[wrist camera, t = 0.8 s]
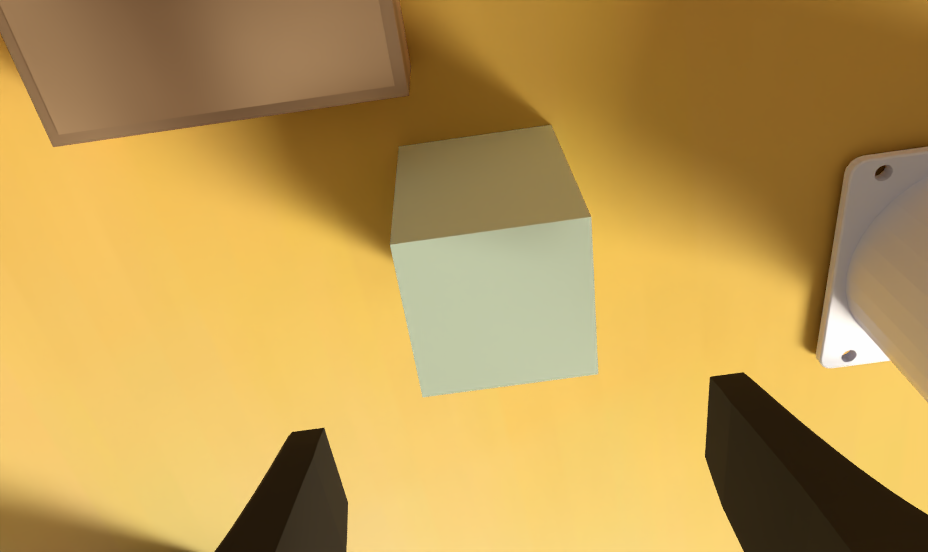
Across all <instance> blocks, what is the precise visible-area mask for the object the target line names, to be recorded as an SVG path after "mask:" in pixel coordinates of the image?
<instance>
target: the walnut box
mask: <svg viewBox="0 0 928 552" xmlns="http://www.w3.org/2000/svg"><path fill="white" fill-rule="evenodd" d="M0 33H1V35H2V37H3V39H4V42H5V44H6V46H7V48H8V50H9V52H10V55H11V57H12V59H13V61H14V63H15V65H16V68H17V70H18V72H19V74H20V76H21V79H22V81H23V83H24V85H25V87H26V89H27V92H28V94H29V96H30V98H31V100H32V102H33V105H34V107H35V109H36V111H37V113H38V115H39V118H40V120H41V122H42V124H43V126H44V128H45V131H46V133H47V135H48V137H49V139H50V141H51V144H52V146H53V147H57V146H64V145H71V144H78V143H85V142H92V141H99V140H106V139H113V138H120V137H126V136H133V135H140V134H147V133H154V132H161V131H168V130H175V129H182V128H189V127H195V126H202V125H209V124H216V123H223V122H230V121H237V120H244V119H251V118H258V117H264V116H271V115H278V114H285V113H292V112H299V111H306V110H313V109H320V108H327V107H334V106H340V105H347V104H354V103H361V102H368V101H375V100H382V99H389V98H396V97H403V96H409V86H410V73H411V64H410V58H409V52H408V47H407V41H406V35H405V29H404V23H403V17H402V12H401V6H400V0H0Z"/></svg>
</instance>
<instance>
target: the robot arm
mask: <svg viewBox="0 0 928 552" xmlns="http://www.w3.org/2000/svg"><path fill="white" fill-rule="evenodd" d="M883 165H885V166H886V167H885V169H884V171H883V172H882V173H881V174H879V175H876V176H875V173H876V170H877V169H878V168H880V167H881V166H883ZM849 350H850V351H849ZM846 351H849V352H848V353H847V354H844V353H845V352H846ZM843 354H844V355H843ZM816 358H817V360H818V361H819V362H820V364H821V365H822V366H823V367H826V368H837V367H845V366H852V365H860V364H868V363H875V362H883V361H890V360H891V362H892V363H893V364H894V365H895V366H896V367H897V368H898V369H899V371H900V372H901V373H902V374H903V375H904V376H905V377H906V378H907V380H908V381H909V382H910V383H911V384H912V385H913V386H914V387H915V389H916V390H917V391H918V392H919V393H920V394H921V395H922V396H923V398H924V399H925V400H926V401H927V402H928V147H921V148H914V149H906V150H899V151H892V152H885V153H878V154H871V155H864V156H860V157H857V158H856V159H854V160H853V161H851V162H850V164H849V165H848V166H847V167H846V170H845V173H844V179H843V185H842V192H841V198H840V204H839V211H838V217H837V223H836V229H835V236H834V242H833V248H832V255H831V261H830V267H829V274H828V280H827V286H826V293H825V299H824V305H823V311H822V318H821V324H820V330H819V337H818V343H817V349H816ZM705 458H706V461H707V464H708V467H709V470H710V473H711V476H712V479H713V482H714V485H715V487H716V490H717V493H718V496H719V499H720V501H721V504H722V507H723V509H724V511H725V513H726V515H727V518H728V520H729V522H730V524H731V526H732V528H733V530H734V532H735V534H736V536H737V538H738V540H739V542H740V544H741V547H742V549H743V551H744V552H928V515H927V514H926V513H924V512H923V511H921V510H919V509H918V508H916V507H915V506H913V505H911V504H910V503H908V502H907V501H905V500H904V499H902V498H901V497H899V496H898V495H896V494H895V493H893V492H892V491H890V490H889V489H887V488H886V487H885V486H883V485H882V484H880V483H879V482H878V481H876V480H875V479H873V478H872V477H871V476H869V475H868V474H867V473H865V472H864V471H862V470H861V469H860V468H858V467H857V466H856V465H854V464H853V463H852V462H850V461H849V460H848V459H847V458H845V457H844V456H843V455H841V454H840V453H839V452H838V451H836V450H835V449H834V448H833V447H831V446H830V445H829V444H828V443H826V442H825V441H824V440H823V439H821V438H820V437H819V436H818V435H816V434H815V433H814V432H813V431H811V430H810V429H809V428H808V427H807V426H805V425H804V424H803V423H802V422H801V421H799V420H798V419H797V418H796V417H795V416H794V415H792V414H791V413H790V412H789V411H788V410H786V409H785V408H784V407H783V406H782V405H781V404H780V403H778V402H777V401H776V400H775V399H774V398H773V397H771V396H770V395H769V394H768V393H767V392H766V391H765V390H763V389H762V388H761V387H760V386H759V385H758V384H757V383H755V382H754V381H753V380H752V379H751V378H750V377H748V376H747V375H746V374H745V373H735V374H728V375H720V376H713V377H710V385H709V401H708V417H707V433H706V449H705ZM347 518H348V501H347V498H346V495H345V492H344V489H343V486H342V482H341V479H340V476H339V473H338V470H337V467H336V464H335V461H334V457H333V454H332V451H331V448H330V445H329V442H328V439H327V436H326V432H325V429H324V428H319V429H312V430H304V431H297V432H292V433H291V434H290V435H289V436H288V438H287V439H286V441H285V443H284V445H283V446H282V448H281V450H280V451H279V453H278V455H277V456H276V458H275V460H274V461H273V463H272V465H271V467H270V468H269V470H268V472H267V473H266V475H265V476H264V478H263V480H262V481H261V483H260V485H259V486H258V488H257V489H256V491H255V493H254V494H253V496H252V497H251V499H250V500H249V502H248V503H247V505H246V506H245V508H244V510H243V511H242V513H241V514H240V516H239V517H238V519H237V520H236V522H235V523H234V525H233V526H232V528H231V529H230V531H229V532H228V534H227V535H226V536H225V538H224V539H223V541H222V542H221V543H220V545H219V546H218V548H217V549H216V550H215V552H346V546H347Z"/></svg>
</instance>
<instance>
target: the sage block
mask: <svg viewBox="0 0 928 552" xmlns="http://www.w3.org/2000/svg"><path fill="white" fill-rule="evenodd" d="M390 248H391V252H392V257H393V262H394V266H395V271H396V275H397V280H398V285H399V289H400V294H401V299H402V303H403V308H404V313H405V317H406V322H407V327H408V331H409V336H410V341H411V345H412V350H413V355H414V359H415V364H416V369H417V373H418V378H419V383H420V387H421V392H422V397H429V396H436V395H444V394H451V393H459V392H466V391H474V390H482V389H489V388H497V387H504V386H512V385H519V384H527V383H535V382H542V381H550V380H557V379H565V378H572V377H580V376H588V375H595V374H598V359H597V336H596V314H595V291H594V269H593V246H592V224H591V215H590V213H589V211H588V208H587V206H586V204H585V201H584V199H583V197H582V195H581V192H580V190H579V188H578V185H577V183H576V181H575V178H574V176H573V174H572V172H571V169H570V167H569V165H568V162H567V160H566V158H565V155H564V153H563V151H562V149H561V146H560V144H559V142H558V139H557V137H556V135H555V132H554V130H553V128H552V126H551V125H545V126H538V127H531V128H524V129H517V130H510V131H503V132H496V133H489V134H482V135H475V136H468V137H461V138H454V139H447V140H440V141H433V142H426V143H419V144H412V145H405V146H399V149H398V160H397V171H396V182H395V194H394V205H393V216H392V227H391V238H390Z"/></svg>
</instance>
